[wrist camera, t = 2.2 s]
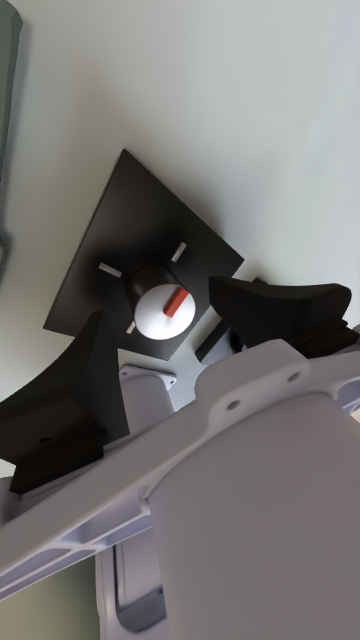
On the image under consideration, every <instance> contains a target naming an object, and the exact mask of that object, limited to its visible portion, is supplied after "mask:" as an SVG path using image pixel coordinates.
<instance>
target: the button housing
mask: <svg viewBox="0 0 360 640" xmlns="http://www.w3.org/2000/svg"><path fill="white" fill-rule="evenodd" d="M253 283H259V284H267V283H266V282H264V281H262V280H260V279H258V278H255V280H254V281H253ZM267 285H268V284H267ZM247 349H248V348H247V347H246V345H245V344H244V343H243V341H242V340H241V339H240V337H239V336H238V335H237V334H236V333H235V331H234V330H233V329H232V328H231V327H230V326H229V325H228V324H227V323H226V322H225V321H224V320H223V319H222V320H221V322H220V323H219V324H218V325H217V327H216V328H215V329H214V330H213V332H212V333H211V334H210V335H209V337H208V338H207V339H206V340H205V341H204V343H203V344H202V345H201V346H200V348H199V349H198V350H197V351H196V353H195V355H196V357H197V359H198V360H199V362H200V363H203V364H206V365H212V364H213V363H215V362H217V361H219V360H222V359H224V358H227V357H229V356H232V355H234V354H237V353H239V352H242V351H244V350H247Z"/></svg>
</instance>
